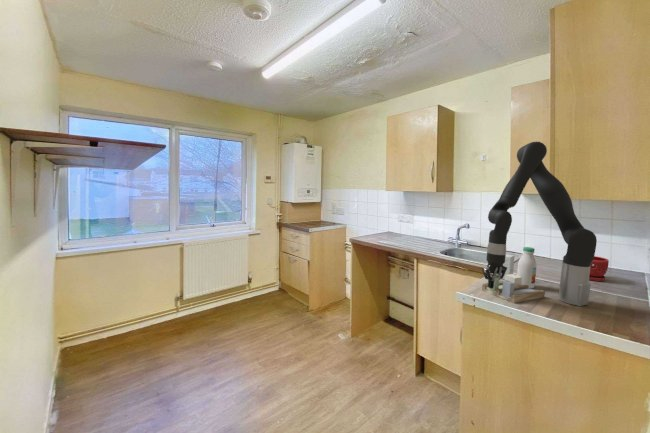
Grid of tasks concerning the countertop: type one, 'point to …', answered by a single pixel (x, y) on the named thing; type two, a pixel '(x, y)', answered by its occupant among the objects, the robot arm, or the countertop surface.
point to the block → (514, 279)
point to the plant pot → (598, 269)
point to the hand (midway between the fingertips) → (493, 287)
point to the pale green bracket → (495, 285)
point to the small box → (509, 264)
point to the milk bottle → (527, 267)
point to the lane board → (516, 297)
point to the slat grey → (512, 289)
